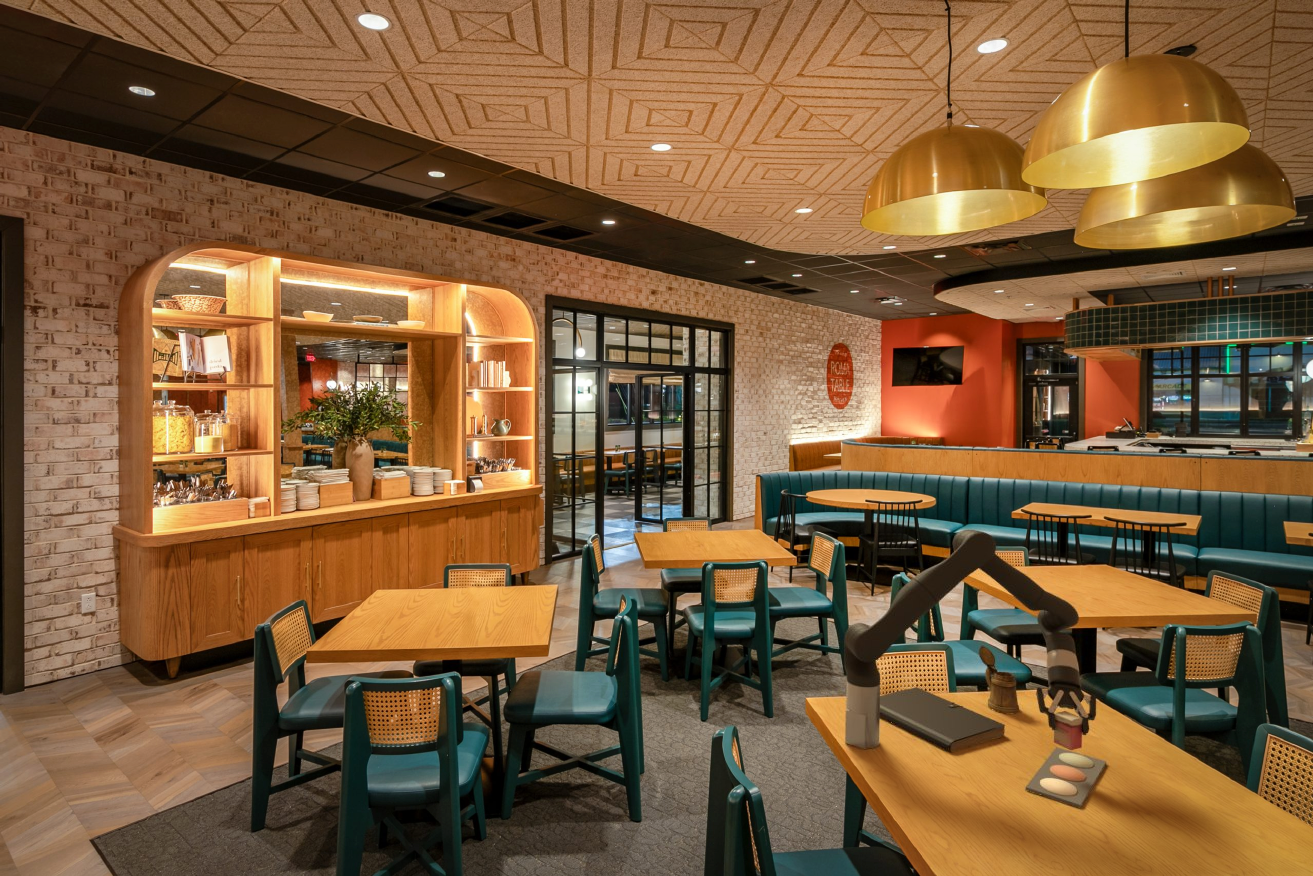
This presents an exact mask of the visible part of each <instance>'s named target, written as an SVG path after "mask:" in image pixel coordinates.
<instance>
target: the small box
mask: <svg viewBox="0 0 1313 876" xmlns="http://www.w3.org/2000/svg"><path fill="white" fill-rule="evenodd" d="M1054 714H1055V724H1056V729H1055V730H1053V743H1054V744H1056V745H1059V746H1061V747H1063V748H1065V749H1066V750H1068V751H1074V750H1077V749H1081V748H1082V746H1083V743H1082V742H1083V735H1082V718H1081V717H1080V716H1079V715H1076V714H1074V713H1071V712H1069V711H1066V710H1063V711H1059V712H1054Z"/></svg>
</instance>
